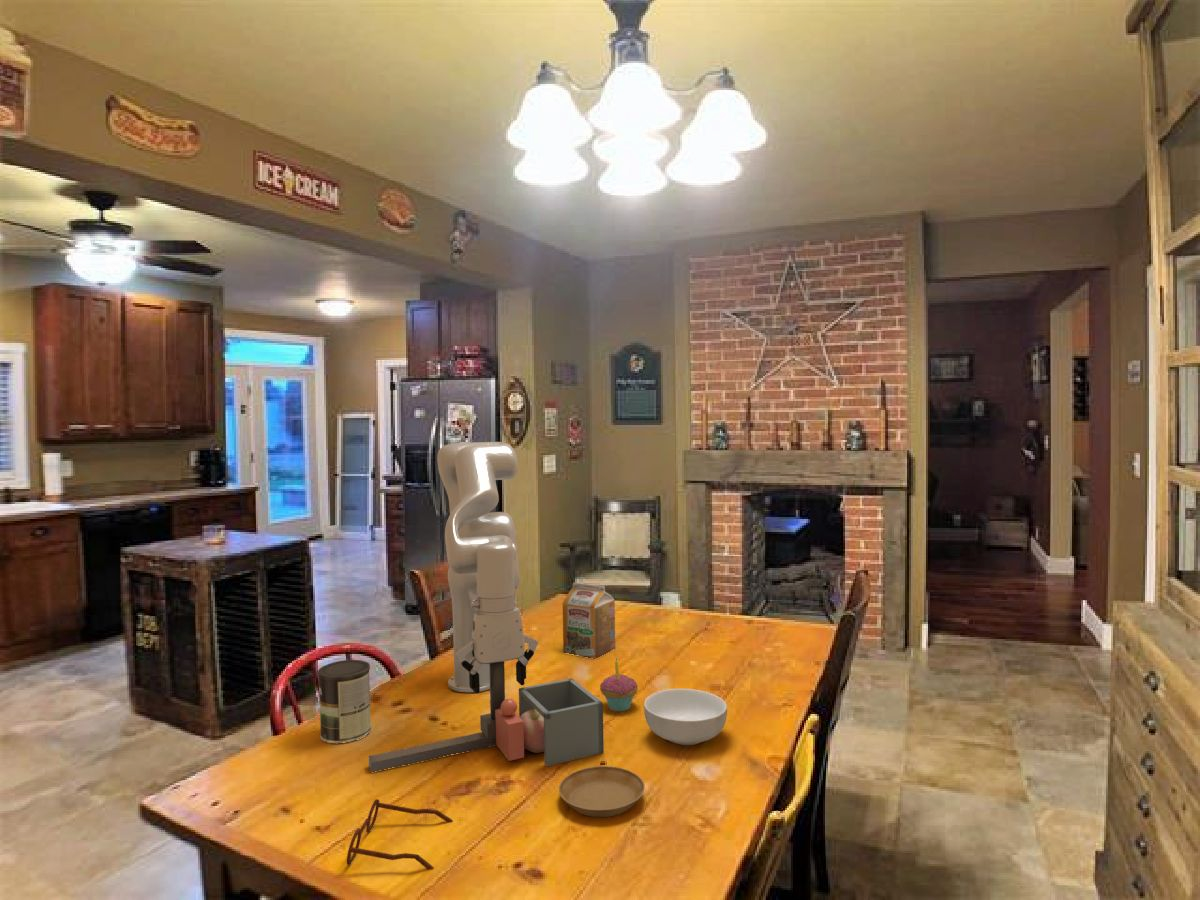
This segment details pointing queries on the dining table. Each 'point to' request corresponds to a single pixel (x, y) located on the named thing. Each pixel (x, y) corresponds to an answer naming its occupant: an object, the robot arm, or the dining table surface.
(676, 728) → the cereal bowl
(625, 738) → the dining table surface
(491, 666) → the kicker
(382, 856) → the glasses
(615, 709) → the cupcake
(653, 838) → the dining table surface
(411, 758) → the rail
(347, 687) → the coffee can
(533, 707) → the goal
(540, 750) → the apple
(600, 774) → the plant saucer
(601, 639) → the milk carton
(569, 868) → the dining table surface
